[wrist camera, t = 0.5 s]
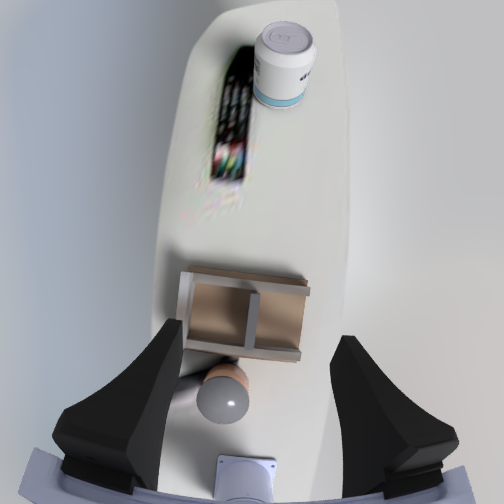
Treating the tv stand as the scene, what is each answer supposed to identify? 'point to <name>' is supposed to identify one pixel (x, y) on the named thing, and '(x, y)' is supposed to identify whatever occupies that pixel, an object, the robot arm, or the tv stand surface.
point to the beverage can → (282, 64)
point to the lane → (241, 313)
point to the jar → (224, 394)
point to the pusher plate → (252, 320)
